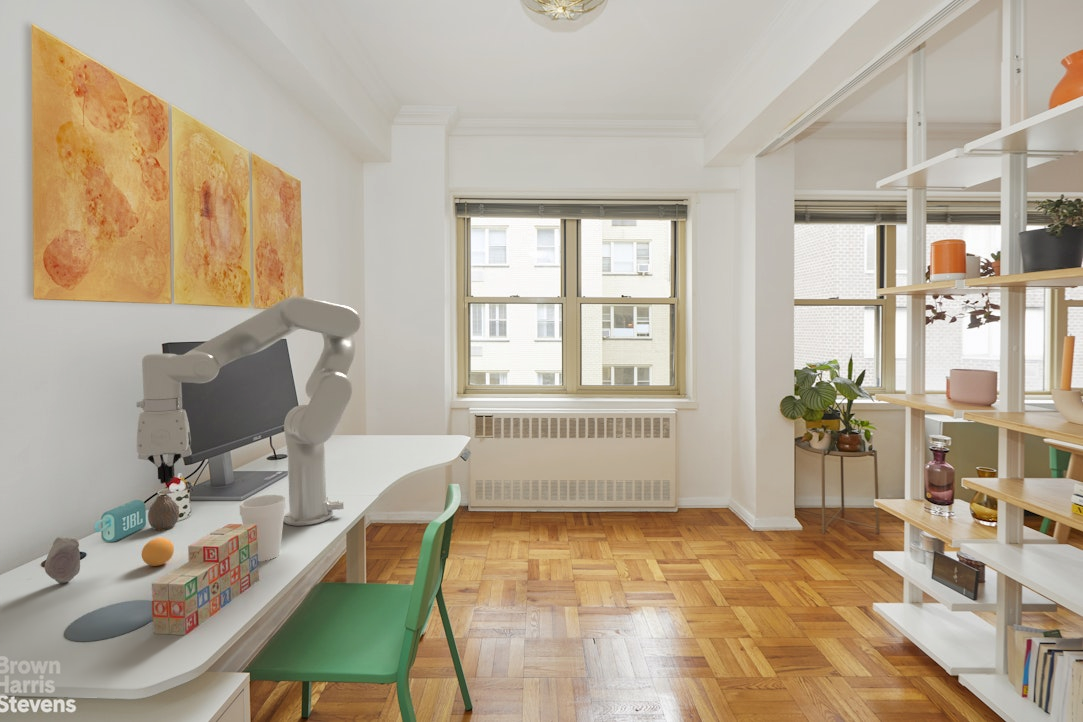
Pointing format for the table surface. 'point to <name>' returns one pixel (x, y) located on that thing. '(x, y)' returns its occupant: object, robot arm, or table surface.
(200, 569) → the stack of blocks
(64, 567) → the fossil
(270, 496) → the foam cup
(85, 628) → the disc
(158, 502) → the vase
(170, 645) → the table surface
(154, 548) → the ball
